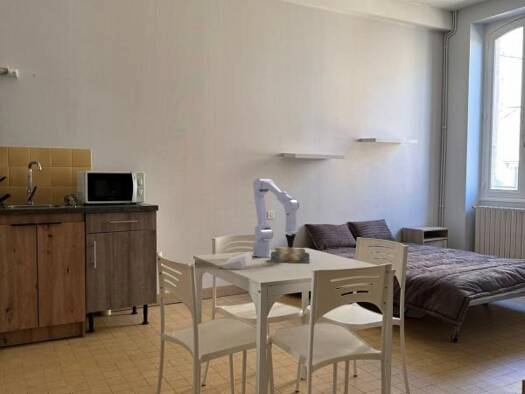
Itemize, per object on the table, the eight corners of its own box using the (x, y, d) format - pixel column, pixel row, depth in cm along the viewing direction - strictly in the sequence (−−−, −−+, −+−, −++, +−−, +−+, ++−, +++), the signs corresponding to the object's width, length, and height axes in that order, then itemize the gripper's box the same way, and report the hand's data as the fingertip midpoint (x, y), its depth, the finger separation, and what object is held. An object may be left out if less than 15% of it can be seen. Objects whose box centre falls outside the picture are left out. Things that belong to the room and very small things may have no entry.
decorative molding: (223, 274, 246) (243, 270, 245) (221, 265, 246) (241, 260, 245) (235, 263, 280) (252, 259, 279) (233, 255, 280) (250, 251, 279)
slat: (275, 258, 274) (275, 247, 274) (275, 258, 276) (275, 247, 276) (304, 260, 272) (305, 248, 272) (305, 259, 274) (305, 248, 274)
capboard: (269, 261, 270) (269, 253, 270) (271, 258, 281) (271, 250, 281) (309, 263, 267) (309, 254, 267) (310, 260, 278) (310, 252, 278)
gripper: (297, 223, 266) (297, 249, 266) (299, 221, 280) (298, 246, 281) (284, 223, 267) (283, 249, 267) (286, 221, 281) (285, 245, 281)
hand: (290, 247), depth 274 cm, fingers closed
